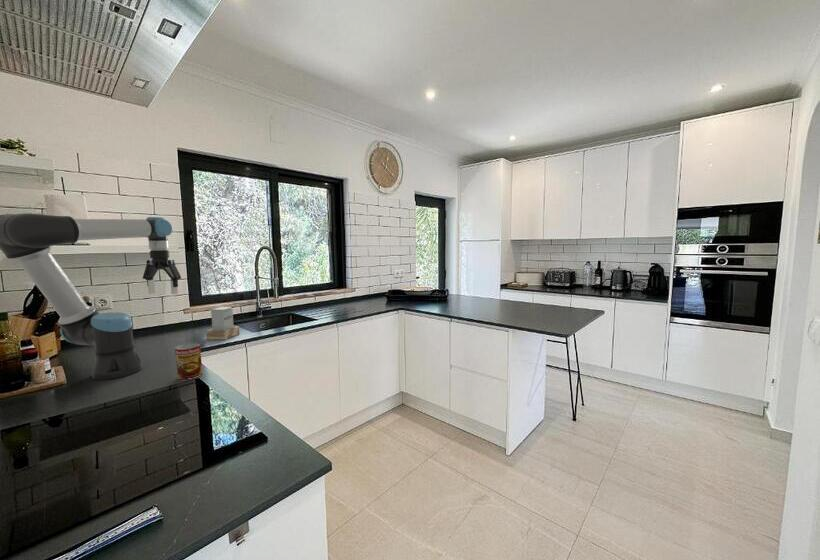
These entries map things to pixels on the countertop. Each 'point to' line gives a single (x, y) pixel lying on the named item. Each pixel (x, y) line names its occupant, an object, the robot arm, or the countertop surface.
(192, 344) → the canned food
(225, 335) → the display pedestal
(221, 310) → the supplement box
